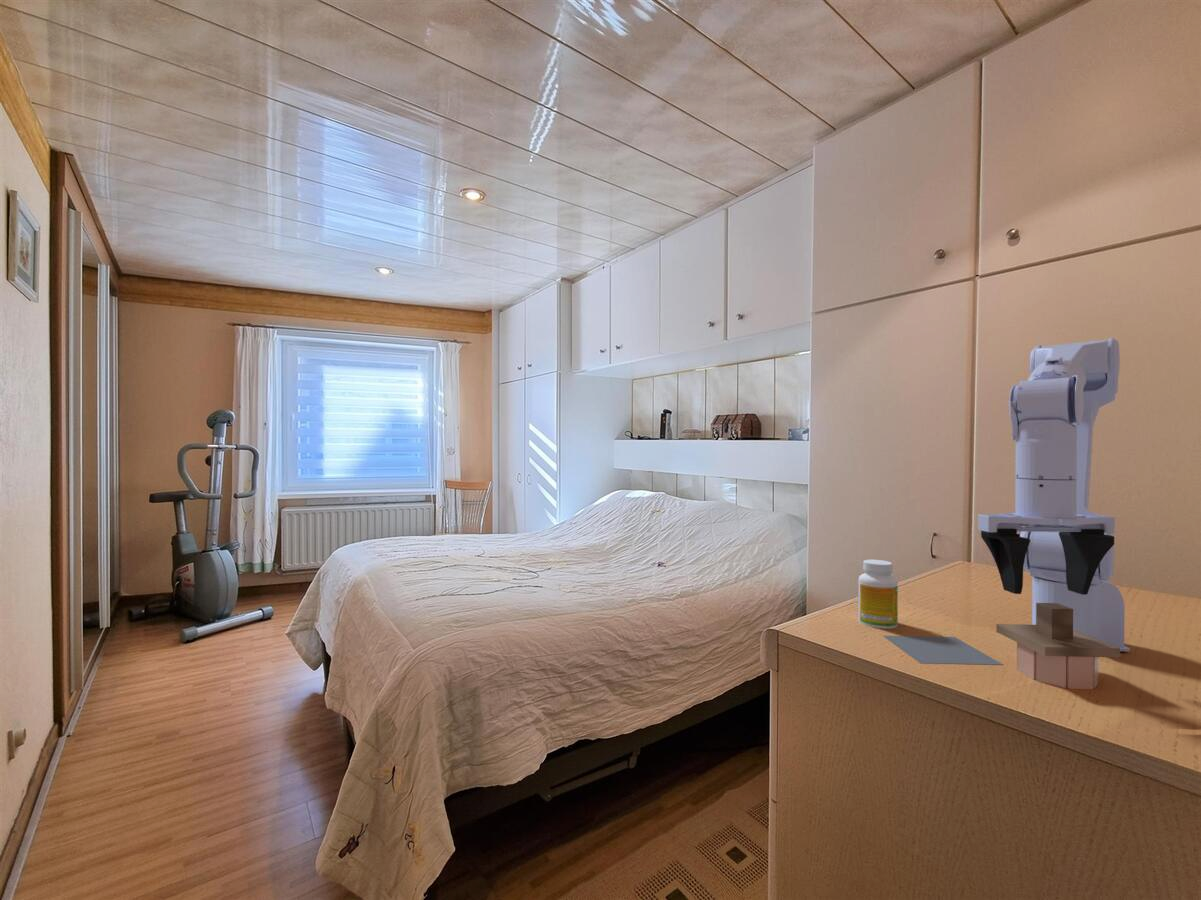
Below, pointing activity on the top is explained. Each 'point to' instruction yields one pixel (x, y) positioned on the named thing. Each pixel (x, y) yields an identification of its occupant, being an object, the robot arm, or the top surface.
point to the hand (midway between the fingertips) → (1044, 592)
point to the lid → (1056, 634)
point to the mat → (941, 650)
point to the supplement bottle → (878, 595)
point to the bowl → (1058, 669)
